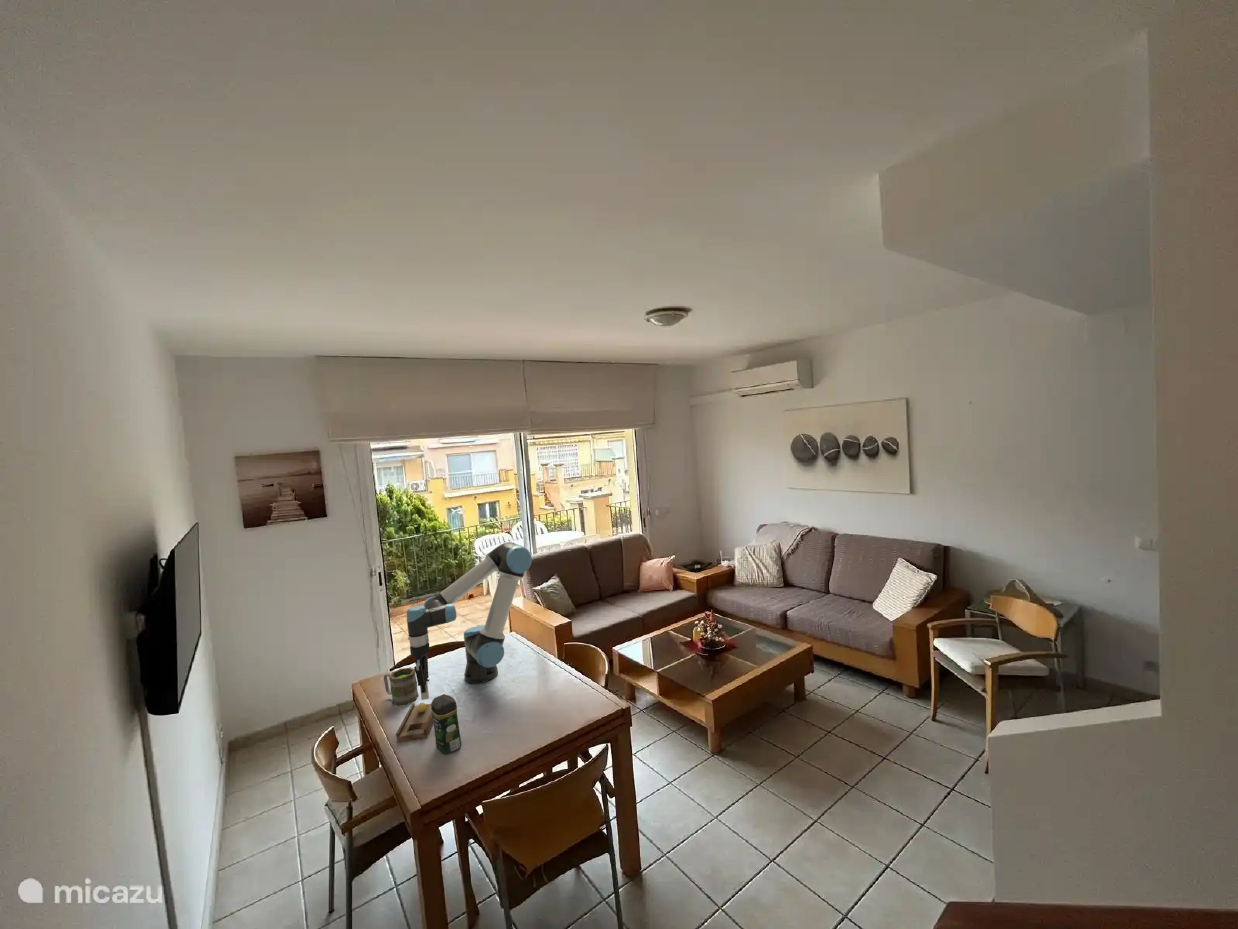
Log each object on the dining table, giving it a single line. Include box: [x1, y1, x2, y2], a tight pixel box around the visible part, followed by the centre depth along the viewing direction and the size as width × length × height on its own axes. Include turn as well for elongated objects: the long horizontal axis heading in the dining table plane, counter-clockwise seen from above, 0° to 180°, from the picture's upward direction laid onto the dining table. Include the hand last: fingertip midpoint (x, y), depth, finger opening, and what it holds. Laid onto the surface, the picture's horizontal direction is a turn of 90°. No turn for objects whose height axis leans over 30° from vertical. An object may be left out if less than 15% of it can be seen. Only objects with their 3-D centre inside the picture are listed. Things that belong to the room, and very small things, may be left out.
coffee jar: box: [430, 693, 462, 755], centre depth 190 cm, size 10×8×19 cm
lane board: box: [395, 702, 434, 744], centre depth 208 cm, size 11×22×4 cm, turn 7°
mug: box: [383, 667, 419, 707], centre depth 230 cm, size 16×11×12 cm
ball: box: [416, 702, 427, 713], centre depth 212 cm, size 4×4×4 cm
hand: (425, 698), depth 219 cm, fingers closed
